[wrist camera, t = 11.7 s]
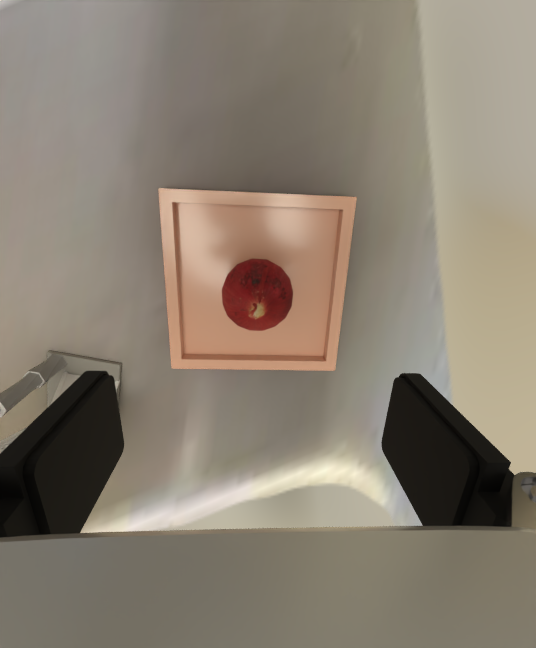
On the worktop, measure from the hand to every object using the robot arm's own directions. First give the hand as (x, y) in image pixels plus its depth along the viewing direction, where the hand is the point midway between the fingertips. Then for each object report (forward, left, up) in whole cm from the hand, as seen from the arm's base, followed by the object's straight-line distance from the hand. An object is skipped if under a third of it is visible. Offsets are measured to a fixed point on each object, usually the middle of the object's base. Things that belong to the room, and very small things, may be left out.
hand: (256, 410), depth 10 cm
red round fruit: (0, 0, -20) cm, 20 cm away
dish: (0, 0, -20) cm, 20 cm away
